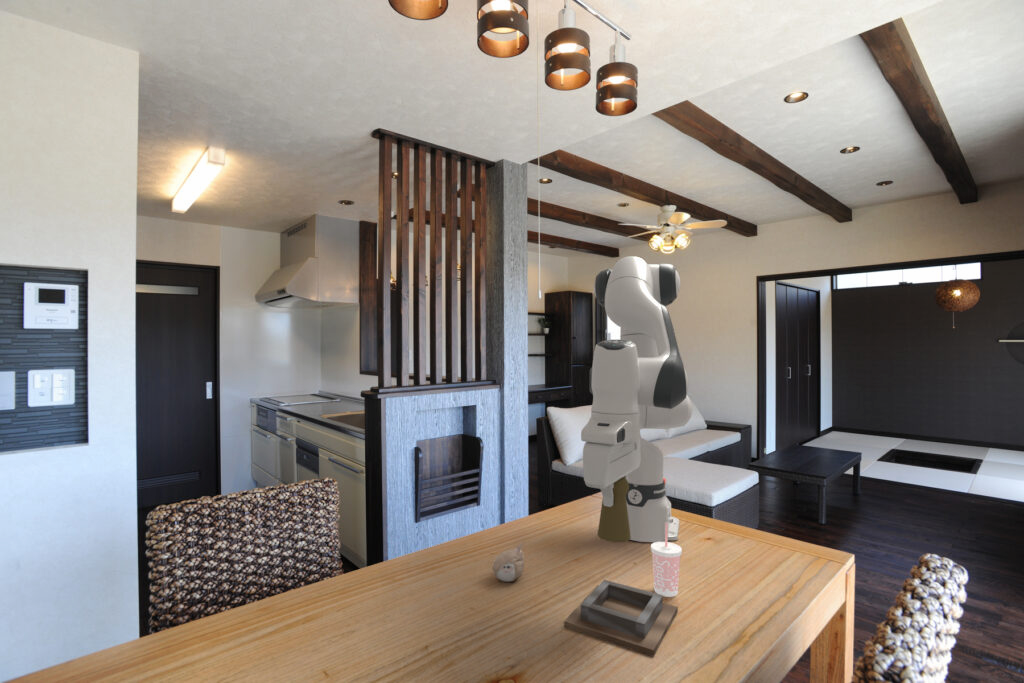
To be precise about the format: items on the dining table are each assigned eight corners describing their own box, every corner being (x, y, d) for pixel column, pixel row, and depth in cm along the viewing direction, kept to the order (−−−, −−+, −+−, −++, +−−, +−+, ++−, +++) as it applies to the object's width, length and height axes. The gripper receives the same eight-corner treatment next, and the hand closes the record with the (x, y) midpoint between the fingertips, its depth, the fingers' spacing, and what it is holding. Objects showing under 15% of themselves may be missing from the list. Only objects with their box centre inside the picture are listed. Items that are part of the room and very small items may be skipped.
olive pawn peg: (631, 543, 89) (631, 481, 90) (597, 540, 91) (597, 479, 91) (630, 531, 95) (630, 473, 95) (598, 528, 97) (598, 471, 97)
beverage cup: (644, 588, 104) (644, 520, 104) (664, 581, 107) (664, 515, 107) (667, 601, 98) (668, 530, 99) (688, 593, 102) (688, 524, 102)
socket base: (597, 589, 103) (598, 572, 103) (677, 612, 95) (677, 593, 95) (564, 626, 89) (564, 606, 89) (653, 656, 81) (653, 634, 81)
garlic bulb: (514, 589, 103) (514, 550, 103) (487, 582, 106) (487, 544, 106) (528, 576, 109) (528, 539, 109) (502, 570, 112) (502, 534, 112)
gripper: (618, 418, 104) (618, 485, 104) (576, 432, 86) (575, 513, 86) (648, 421, 100) (648, 490, 100) (611, 436, 83) (610, 520, 83)
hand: (614, 501), depth 93 cm, fingers closed on olive pawn peg, 4 cm apart
